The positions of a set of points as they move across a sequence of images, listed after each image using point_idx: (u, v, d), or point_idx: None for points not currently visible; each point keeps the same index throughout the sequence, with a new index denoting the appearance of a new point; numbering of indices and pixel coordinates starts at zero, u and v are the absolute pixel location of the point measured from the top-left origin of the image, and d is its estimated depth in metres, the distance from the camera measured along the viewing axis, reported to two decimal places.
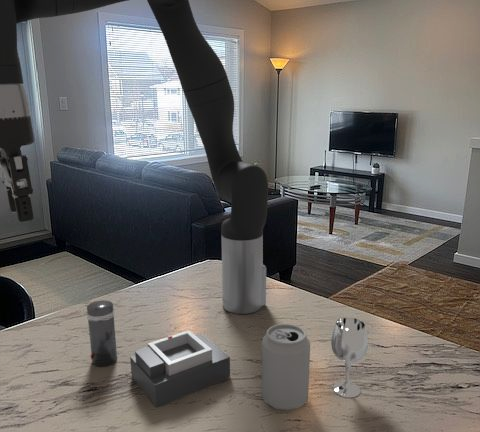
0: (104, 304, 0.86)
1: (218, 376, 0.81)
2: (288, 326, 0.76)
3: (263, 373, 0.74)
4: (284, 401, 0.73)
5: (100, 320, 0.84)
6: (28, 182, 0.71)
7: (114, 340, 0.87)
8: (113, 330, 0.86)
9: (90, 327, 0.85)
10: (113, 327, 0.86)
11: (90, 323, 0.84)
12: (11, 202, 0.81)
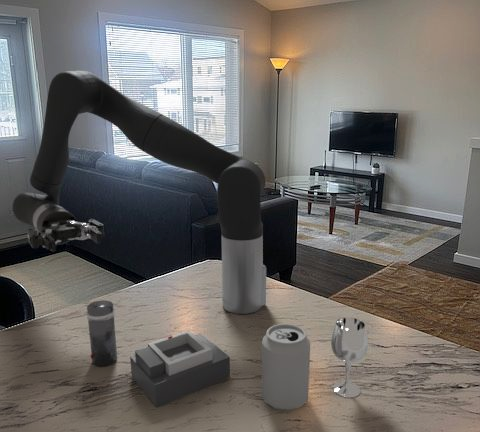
0: (104, 304, 0.86)
1: (218, 376, 0.81)
2: (288, 326, 0.76)
3: (263, 373, 0.74)
4: (284, 401, 0.73)
5: (101, 320, 0.84)
6: (30, 235, 0.92)
7: (114, 340, 0.87)
8: (113, 330, 0.86)
9: (90, 327, 0.85)
10: (113, 327, 0.86)
11: (90, 323, 0.84)
12: (94, 240, 0.95)
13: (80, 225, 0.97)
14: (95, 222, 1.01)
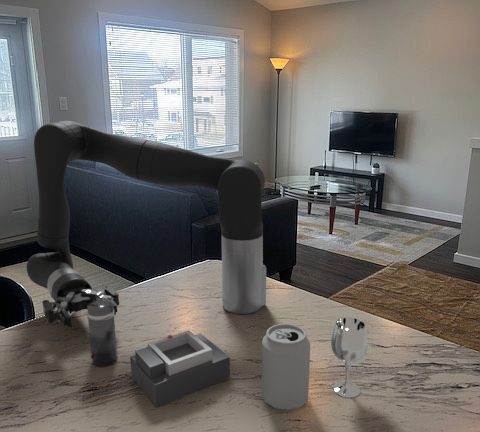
0: (104, 304, 0.86)
1: (218, 376, 0.81)
2: (288, 326, 0.76)
3: (263, 373, 0.74)
4: (284, 401, 0.73)
5: (101, 319, 0.84)
6: (45, 309, 0.92)
7: (114, 340, 0.87)
8: (114, 330, 0.86)
9: (90, 327, 0.85)
10: (113, 327, 0.86)
11: (91, 323, 0.84)
12: None
13: (95, 295, 0.97)
14: (110, 290, 1.00)
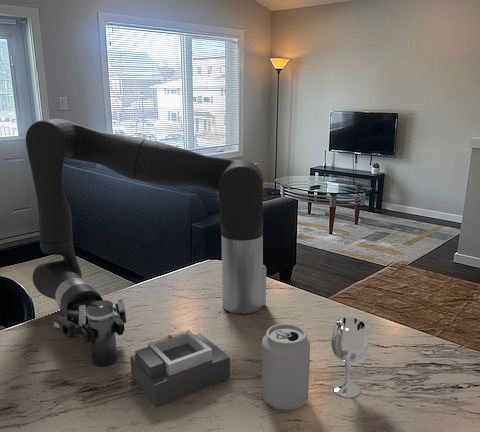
0: (104, 304, 0.86)
1: (218, 376, 0.81)
2: (288, 326, 0.76)
3: (263, 373, 0.74)
4: (284, 401, 0.73)
5: (101, 320, 0.84)
6: (64, 325, 0.86)
7: (114, 340, 0.87)
8: (114, 330, 0.86)
9: None
10: (113, 327, 0.86)
11: (91, 323, 0.84)
12: (116, 330, 0.87)
13: None
14: (120, 305, 0.93)
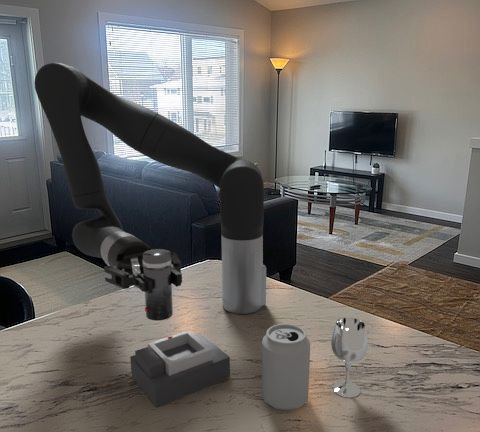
0: (161, 252, 0.79)
1: (218, 376, 0.81)
2: (288, 326, 0.76)
3: (263, 373, 0.74)
4: (284, 401, 0.73)
5: (158, 268, 0.76)
6: (117, 274, 0.79)
7: (171, 292, 0.80)
8: (170, 281, 0.79)
9: None
10: (170, 277, 0.79)
11: (147, 271, 0.77)
12: (172, 282, 0.80)
13: None
14: (174, 257, 0.86)
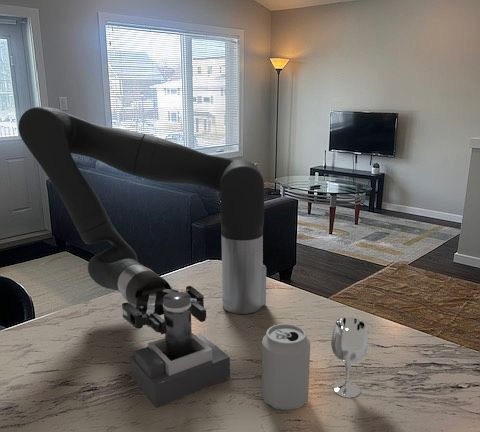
0: (181, 295, 0.80)
1: (218, 376, 0.81)
2: (288, 326, 0.76)
3: (263, 373, 0.74)
4: (284, 401, 0.73)
5: (179, 312, 0.77)
6: (131, 313, 0.79)
7: (191, 334, 0.80)
8: (190, 324, 0.80)
9: (167, 320, 0.78)
10: (190, 320, 0.80)
11: (168, 316, 0.78)
12: (197, 317, 0.81)
13: None
14: (194, 291, 0.87)
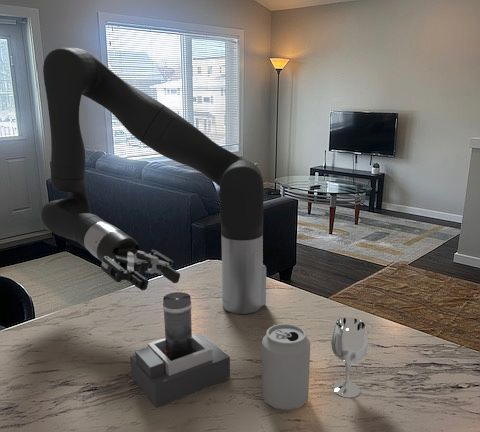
0: (181, 296, 0.79)
1: (218, 376, 0.81)
2: (288, 326, 0.76)
3: (263, 373, 0.74)
4: (284, 401, 0.73)
5: (179, 313, 0.77)
6: (114, 267, 0.88)
7: (191, 335, 0.80)
8: None
9: (167, 321, 0.78)
10: (190, 320, 0.80)
11: (168, 316, 0.78)
12: (170, 278, 0.95)
13: (154, 259, 0.96)
14: (161, 255, 1.00)
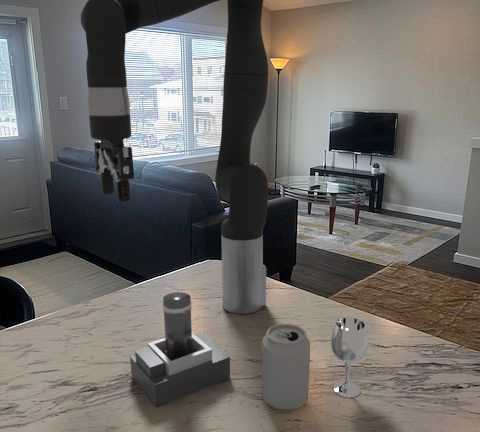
0: (181, 296, 0.79)
1: (218, 376, 0.81)
2: (288, 326, 0.76)
3: (263, 373, 0.74)
4: (284, 401, 0.73)
5: (179, 313, 0.77)
6: (131, 169, 0.86)
7: (191, 335, 0.80)
8: None
9: (167, 321, 0.78)
10: (190, 320, 0.80)
11: (168, 316, 0.78)
12: (104, 186, 0.95)
13: None
14: None
